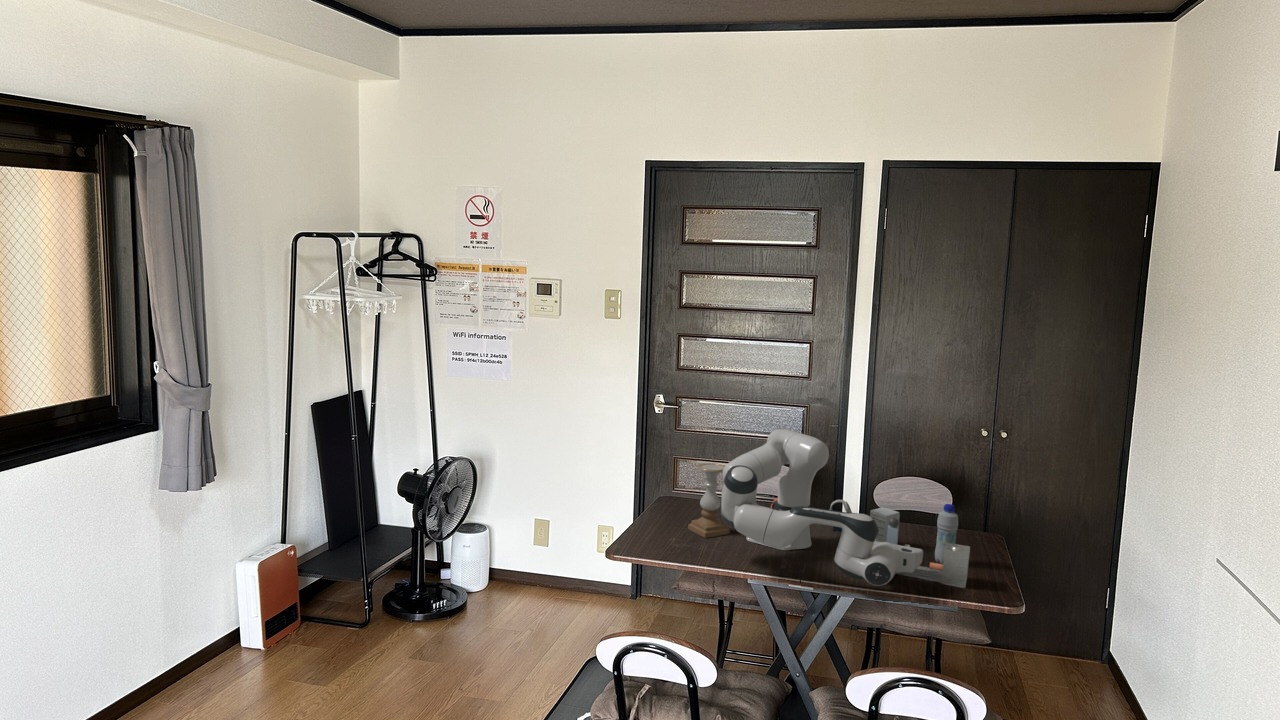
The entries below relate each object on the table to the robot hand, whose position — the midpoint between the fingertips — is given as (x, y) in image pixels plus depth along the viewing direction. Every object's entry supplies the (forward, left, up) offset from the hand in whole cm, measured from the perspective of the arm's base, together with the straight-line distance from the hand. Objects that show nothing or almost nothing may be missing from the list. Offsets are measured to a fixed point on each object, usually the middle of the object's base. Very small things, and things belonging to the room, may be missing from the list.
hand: (892, 544), depth 271 cm
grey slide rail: (+8, +2, -9) cm, 12 cm away
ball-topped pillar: (+1, +1, -8) cm, 9 cm away
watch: (-23, +35, -9) cm, 43 cm away
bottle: (+15, +19, -9) cm, 26 cm away
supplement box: (-6, +25, -9) cm, 27 cm away
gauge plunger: (+15, +1, -6) cm, 17 cm away
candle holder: (-64, +7, -9) cm, 65 cm away
